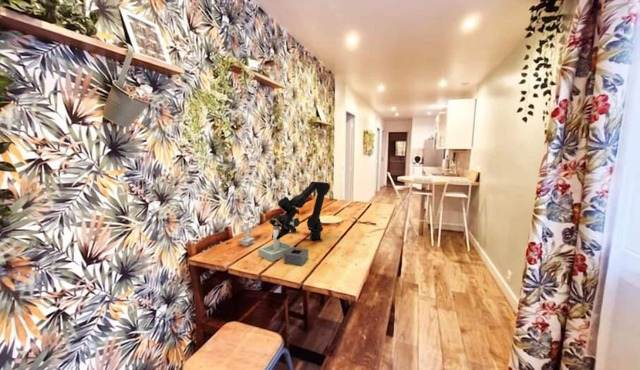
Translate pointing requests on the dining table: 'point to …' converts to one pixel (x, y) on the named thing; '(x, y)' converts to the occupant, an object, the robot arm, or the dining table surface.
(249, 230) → the figurine
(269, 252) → the tray
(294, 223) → the pneumatic valve
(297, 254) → the block
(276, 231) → the beige capped cylinder
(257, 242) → the dining table surface
